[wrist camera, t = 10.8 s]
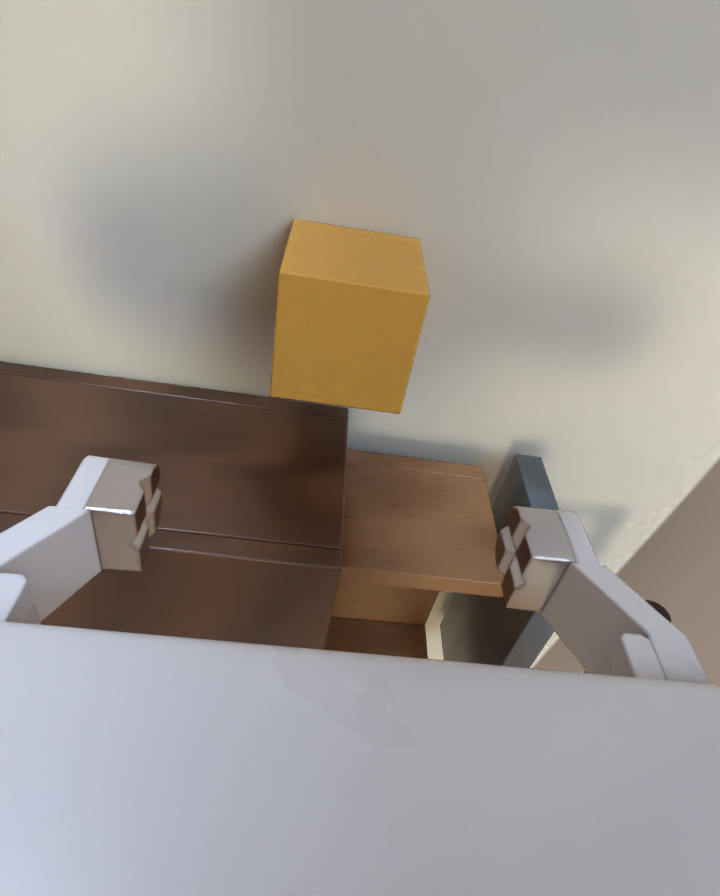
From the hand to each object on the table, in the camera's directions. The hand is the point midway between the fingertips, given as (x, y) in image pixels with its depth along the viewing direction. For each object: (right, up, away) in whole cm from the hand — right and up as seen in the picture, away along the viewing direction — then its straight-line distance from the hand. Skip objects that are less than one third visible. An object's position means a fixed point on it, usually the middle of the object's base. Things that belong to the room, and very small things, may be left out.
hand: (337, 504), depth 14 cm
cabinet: (-9, -1, +15) cm, 18 cm away
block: (0, +7, +8) cm, 11 cm away
